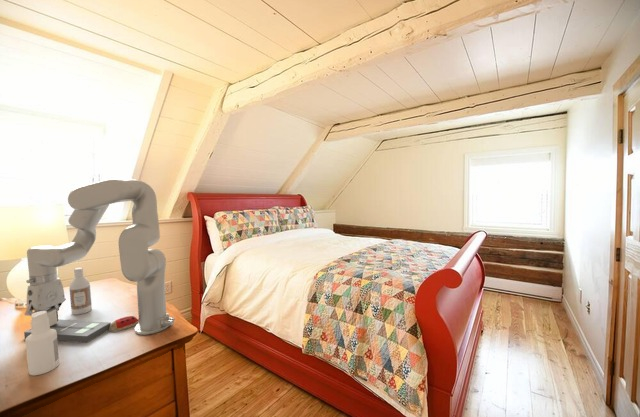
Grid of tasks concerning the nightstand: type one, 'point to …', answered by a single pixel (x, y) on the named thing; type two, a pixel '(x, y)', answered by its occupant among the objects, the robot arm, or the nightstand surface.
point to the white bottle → (41, 345)
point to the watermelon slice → (123, 323)
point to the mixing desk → (77, 330)
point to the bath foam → (80, 293)
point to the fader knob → (52, 315)
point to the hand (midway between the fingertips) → (48, 323)
